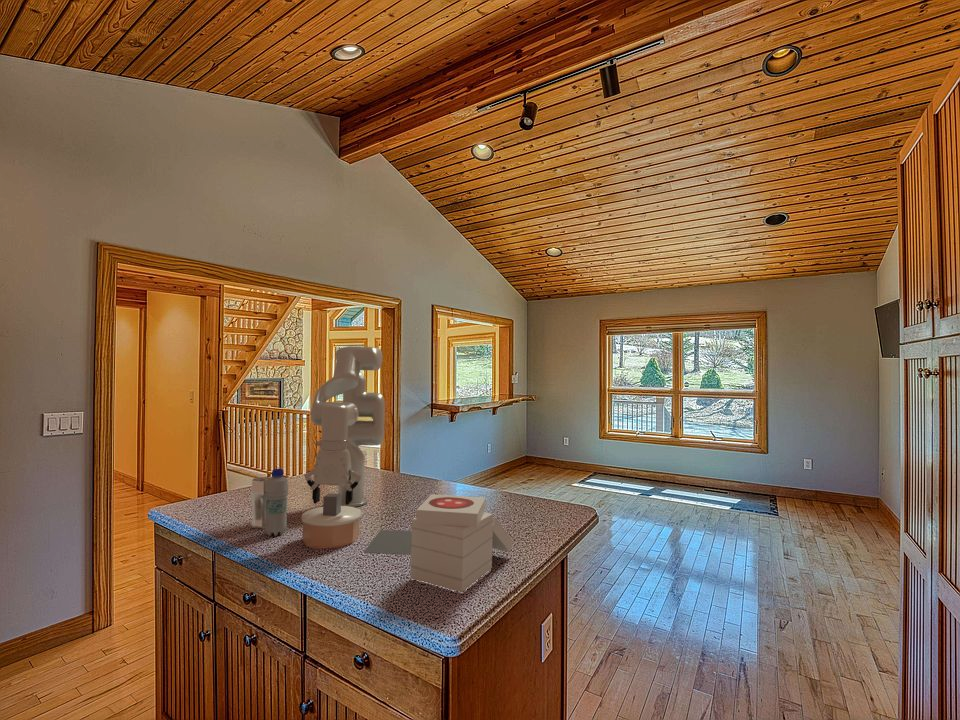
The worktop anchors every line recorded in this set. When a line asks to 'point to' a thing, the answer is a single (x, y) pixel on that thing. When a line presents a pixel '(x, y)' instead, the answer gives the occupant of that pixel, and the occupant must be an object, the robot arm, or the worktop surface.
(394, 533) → the mat
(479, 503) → the pizza boxes
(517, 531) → the worktop surface
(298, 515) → the worktop surface
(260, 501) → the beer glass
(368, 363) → the robot arm
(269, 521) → the bottle
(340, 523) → the lid
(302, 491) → the worktop surface
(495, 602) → the worktop surface
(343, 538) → the bowl
